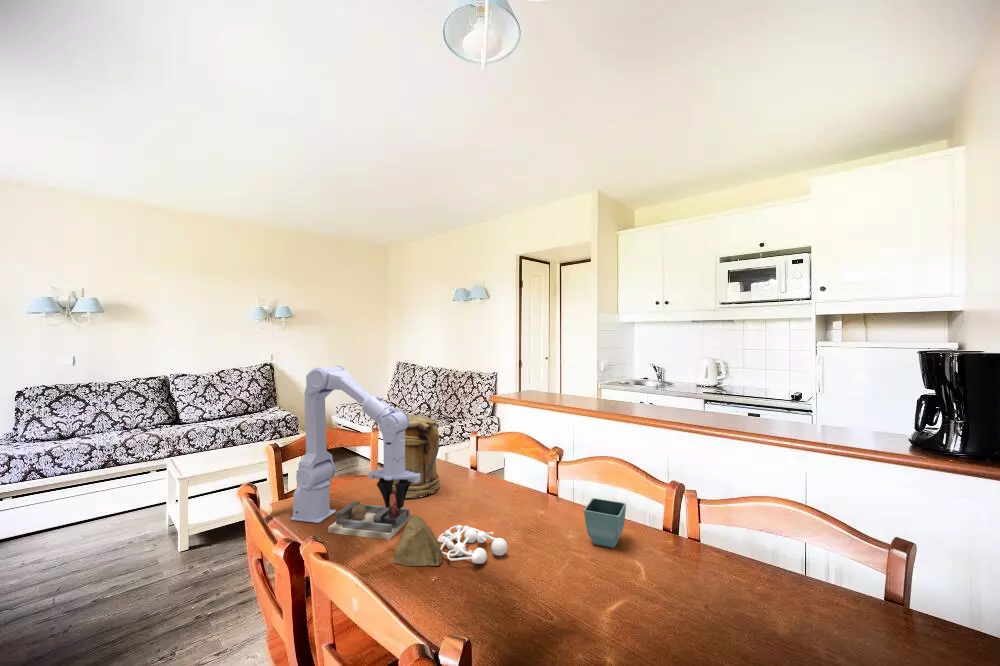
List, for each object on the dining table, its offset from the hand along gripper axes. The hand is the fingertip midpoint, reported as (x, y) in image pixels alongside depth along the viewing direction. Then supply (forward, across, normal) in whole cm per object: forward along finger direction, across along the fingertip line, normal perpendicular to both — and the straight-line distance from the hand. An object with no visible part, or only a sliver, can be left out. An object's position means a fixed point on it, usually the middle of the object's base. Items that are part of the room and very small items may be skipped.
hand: (394, 506), depth 110 cm
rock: (+6, +14, -14) cm, 21 cm away
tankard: (+6, -6, +27) cm, 28 cm away
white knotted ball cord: (+6, +23, -6) cm, 25 cm away
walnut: (+2, -11, 0) cm, 11 cm away
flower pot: (+6, +56, +5) cm, 56 cm away
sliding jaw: (+4, -1, 0) cm, 4 cm away
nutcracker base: (+6, -7, 0) cm, 9 cm away
